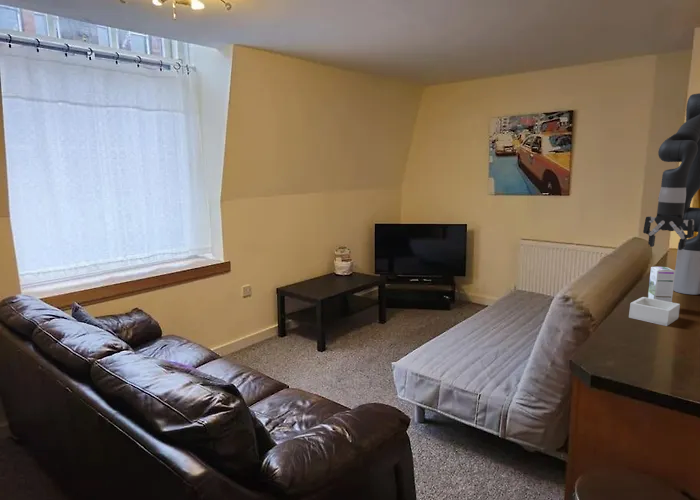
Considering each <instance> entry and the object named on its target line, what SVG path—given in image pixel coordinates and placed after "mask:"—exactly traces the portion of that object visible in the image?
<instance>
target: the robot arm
mask: <svg viewBox="0 0 700 500" xmlns="http://www.w3.org/2000/svg"><path fill="white" fill-rule="evenodd" d="M685 111H686V112H685V113H686V114H685V118H686V119H685V120H686V121H685V122H684V123H683V124H682V125H681V126H680V127H679V129H678V130H677V131H676V133H674V134H673V135H672V134H671V136H669V137H668V138H666V139H664V141H663V142H662V143H661V144H660V146H659V148H658V153H657V155H658V157H659V159H660V160H661V161H663V162H665V163H680V164H679V165H678V167H675V168H670V169H665V170H664V171H663V172H662V176H661V185H660V191H659V194H658V199H657V200H658V203H657V211H656V215H655V216H646V217H645V220H644V223H643V224H644V225H643V231H642V232H643V234H646V235H648V245H649V247H651V248H652V247H655V241H656V234H657V233H658V232H659V231H660V230H661V231H669V232H675V233H676V234H677V235H678V237H679V238H680V239H679V241H678V245H677V251H676V260H675V267H674V271H675V277H674V286H673V292H676V293H679V294H684V295H700V207H691V203H692V200H693V198H694V196H695V195H696V193H698V191H699V190H700V92H699V93H693V94H691V95H690V96H689V97H688V99H687V103H686V110H685ZM654 222H655V223H656V226H655V227H654V228H653V229H651V225H652V223H654ZM685 232H686V233H685ZM695 232H696V233H697V235H696V236H695V235H694V234H695Z"/></svg>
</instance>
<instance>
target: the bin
mask: <svg viewBox="0 0 700 500" xmlns="http://www.w3.org/2000/svg"><path fill="white" fill-rule="evenodd" d="M680 306H681V304H680V303H679V302H678V303H677V302H673V301H672V302H667V301H662V300H657V299H652V298H648V297H647V296H642V297H639V298H638V299H636V300H633V301H632V302H630V304H629V310H628V311H629V312H628V318H629V319H634V320H639V321H643V322H648V323H651V324H652V323H653V324H655V325H660V326H665V327H668V326H669V325H670V324H672V323H674V322H675V321H677V320H679V315H680Z"/></svg>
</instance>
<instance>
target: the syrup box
mask: <svg viewBox="0 0 700 500" xmlns="http://www.w3.org/2000/svg"><path fill="white" fill-rule="evenodd" d="M674 277H675V269H672V268H670V267H668V266H651V267H650V274H649V281H648V284H649V285H648V292H647V298H652V299H657V300H662V301H667V302H672V303H673V295H674V291H673V286H674Z"/></svg>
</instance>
